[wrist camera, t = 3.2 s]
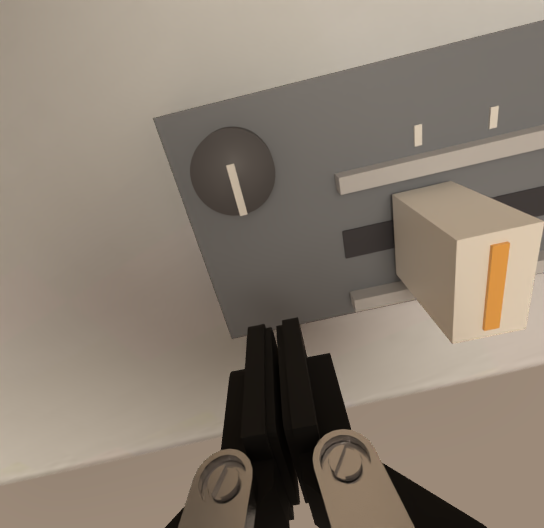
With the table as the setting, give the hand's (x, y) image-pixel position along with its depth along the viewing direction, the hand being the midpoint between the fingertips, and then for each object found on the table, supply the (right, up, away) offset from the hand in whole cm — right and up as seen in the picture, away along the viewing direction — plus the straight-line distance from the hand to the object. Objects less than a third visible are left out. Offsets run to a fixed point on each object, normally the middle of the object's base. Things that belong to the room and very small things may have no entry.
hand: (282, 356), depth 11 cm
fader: (+6, +5, +4) cm, 9 cm away
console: (+12, +8, +5) cm, 15 cm away
